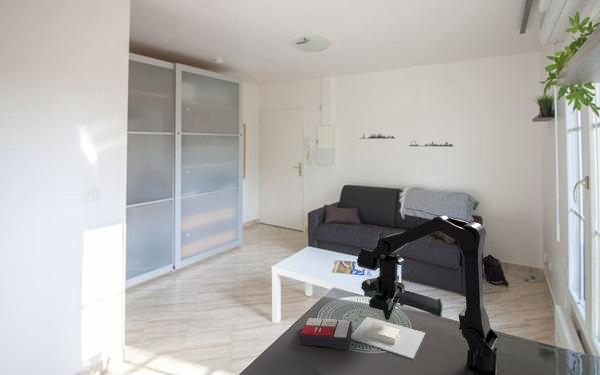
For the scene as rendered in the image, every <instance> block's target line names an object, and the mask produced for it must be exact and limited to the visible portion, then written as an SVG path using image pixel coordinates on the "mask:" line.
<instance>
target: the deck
mask: <svg viewBox="0 0 600 375" xmlns="http://www.w3.org/2000/svg"><path fill="white" fill-rule="evenodd" d="M367 336H370V337H373V338H377V339H380V340H383V341H386V342H389V343H393V344H395V343H396V341H397V340H398V338H399V336H400V330H399V329H395V328H392V327H388V326H385V325H381V324H378V323H374V322H373V324H372V325H371V326H370V327H369V328H368V330H367Z"/></svg>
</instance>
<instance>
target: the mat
mask: <svg viewBox="0 0 600 375" xmlns="http://www.w3.org/2000/svg"><path fill="white" fill-rule="evenodd" d="M373 322H374V323H378V324H381V325H385V326H388V327H392V328H395V329H399V330H400V336H399V338H398V340H397V341H396V343H395V344H393V343H389V342H386V341H383V340H380V339H377V338H373V337H370V336H367V330H368V328H369V327H370V326H371V325H372V324H373ZM425 335H426V332H424V331H421V330H416V329H413V328H410V327H406V326H403V325H400V324H395V323H391V322H388V321H384V320H382V319H381V320H380V319H377V318H374V317H370V316H367V317H366V318H364V320H363V321H362V322H361V323H360V324H359V325H358V327H357V328H356V329H355V330H354V331H352V335H351V340H353V341H356V342H358V343H362V344H365V345H369V346H371V347H373V348H377V349H380V350H384V351H386V352H390V353H392V354H396V355H399V356H402V357H405V358H407V359H411V360H414V359H415V356H416V354H417V352H418V350H419V348H420V346H421V344H422V343H423V340H424V337H425Z"/></svg>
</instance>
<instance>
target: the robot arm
mask: <svg viewBox="0 0 600 375" xmlns="http://www.w3.org/2000/svg"><path fill="white" fill-rule="evenodd" d="M437 232H441V233H442V234H444V235H446V236H448V237H449V238H451V239H454V240H456V241H457V244H458V248H459V250H460V252H461V255H462V256H463V270H464V288H465V289H464V290H465V292H464V293H465V307H464V308H463V309H462V310H461V312H460V313H459V314H458V322H459V327H458V330H459V331H461V336H462V337H463V338H464V339H465V340H466V343H467V346H468V347H467V353H466V354H467V355H466V357H467V358H466V365H468V368H467V370H468V371H469V372H471V373H475V374H477V375H497V369H498V365H497V362H498V361H497V358H498V347H496V346H497V344H498V342H499V340H500V337H499V335H498V334H497V333H496V332H495V331H494V330H493V329H492V327H491V322H490V320H489V315H488V313H487V311H486V308H485V304H484V302H485V301H484V286H483V285H484V284H483V283H484V282H483V265H482V256H483V251H484V249H485V244H486V238H487V231H486V228H485V227H484V226H483V225H482V224H480V223H478V222H475V221H473V222H467V221H464V220H460V219H456V218H452V217H449V216H446V215H443V214H441V215H437V216H435V217H433V218H432V219H430V220H428V221H425V222H424V223H421V224H419V225H416V226H414V227H413V228H410V229H407V230H405V231H402V232H397V233H392V234H389V235H386V236H384V237H381V238H379V239H378V240H377V244H376V247H375V248H374V249H369V248H367V247H362V248H360V252H359V254H358V256H357V259H356V264H357V267H358V268H362V269H366V270H370V271H374V272H376V271H377V270H379V272H378V273H379V274H378V276H377V277H373V278H366V279H365V280H363V281H362V283H361V286H360V290H362V291H363V292H364V294H365V293H369V292H374V291H375V293H376V294H375V295H373V296H372V297H370V299H369V300H368V307H369V308H371V309H375V310H379V311H383V316H384V319H385V320H386V321H389V320H391V317H392V314H393V312H394V310H395V309H396V306H397V304H398V303H399V300H400V297H399V296H397V294H398V293H400V294H402V295H403V294H404V293H405V291H406V288H405V284H404V283H403V282H400V281H399V279H400V276H399V275H398V265H401V264H402V263H404V262H405V259H404V258H403V257H402V256H401V254H397V255H392V254H395V253H396V252H398V251H400V250H401V249H402V248H404V247H406V246H407V245H409V243H411V242H414V241H417V240H418V239H419V240H420V239H422V238H424V237H426V236H428V235H431V234H434V233H437Z"/></svg>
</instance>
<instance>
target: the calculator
mask: <svg viewBox="0 0 600 375" xmlns="http://www.w3.org/2000/svg"><path fill="white" fill-rule="evenodd" d="M352 324H353V323H352V321H351V320H344V319H342V320H341V319H339V320H338V319H335V318H334V319H333V318H317V317H315V318H313V317H308V319H307V320H306V322H305V324H304V326H303V328H302V330H301V332H300V334H299V343H300V345H303V346H316V347H330V348H331V347H332V348H334V349H336V350H344V351H347V350H349V348H350V344H351V341H352V339H351V335H352V333H353V326H352Z"/></svg>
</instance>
